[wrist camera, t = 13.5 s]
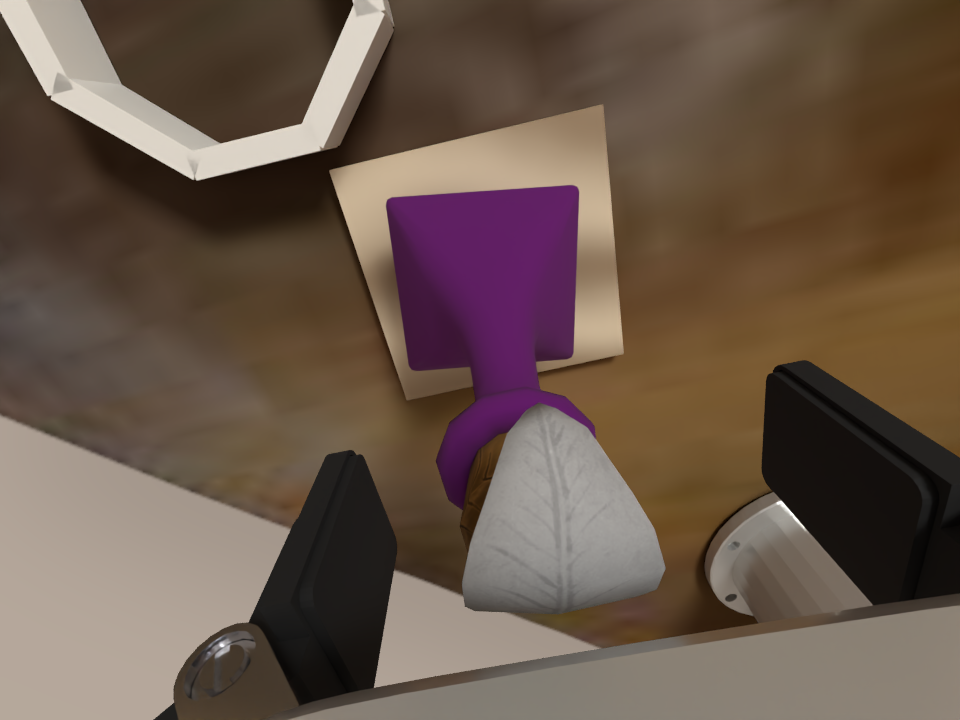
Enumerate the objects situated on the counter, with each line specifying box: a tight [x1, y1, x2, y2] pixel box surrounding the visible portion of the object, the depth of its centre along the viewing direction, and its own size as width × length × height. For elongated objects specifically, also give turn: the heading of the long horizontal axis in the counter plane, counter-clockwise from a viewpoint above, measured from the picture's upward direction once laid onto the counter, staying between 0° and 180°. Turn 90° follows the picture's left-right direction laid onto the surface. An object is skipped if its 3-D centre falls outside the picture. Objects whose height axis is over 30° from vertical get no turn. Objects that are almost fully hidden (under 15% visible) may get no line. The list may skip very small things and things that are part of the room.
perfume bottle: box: [386, 185, 665, 614], centre depth 14 cm, size 8×8×18 cm
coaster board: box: [329, 105, 624, 400], centre depth 23 cm, size 12×12×1 cm
